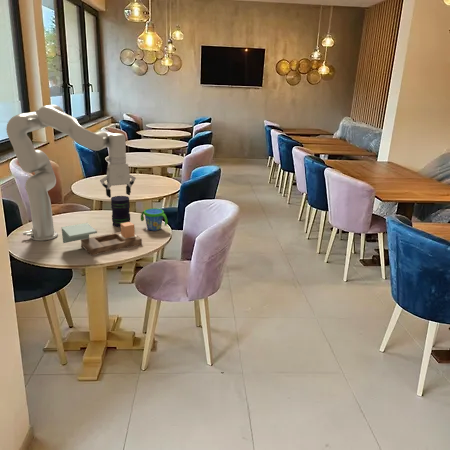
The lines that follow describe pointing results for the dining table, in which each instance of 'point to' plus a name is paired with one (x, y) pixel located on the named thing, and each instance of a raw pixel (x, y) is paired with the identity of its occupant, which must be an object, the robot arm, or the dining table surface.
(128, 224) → the block
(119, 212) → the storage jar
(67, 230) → the cover
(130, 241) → the board
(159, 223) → the snack cup
